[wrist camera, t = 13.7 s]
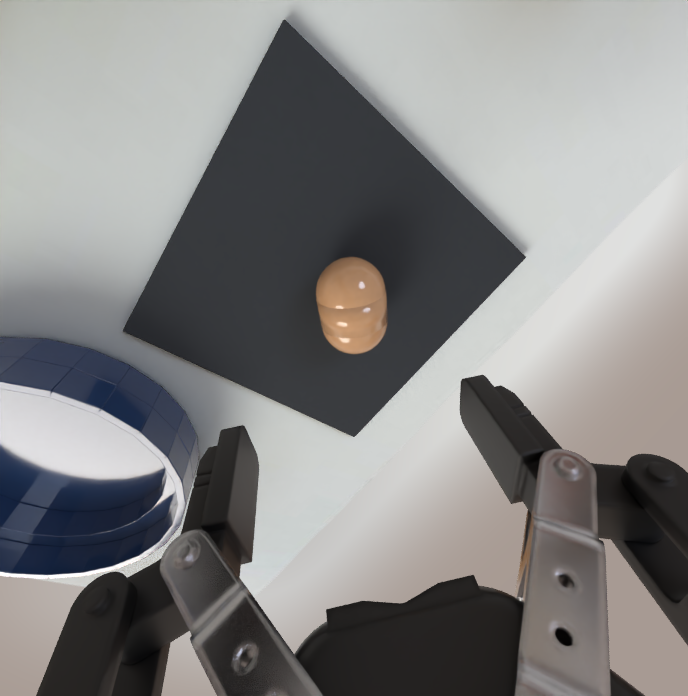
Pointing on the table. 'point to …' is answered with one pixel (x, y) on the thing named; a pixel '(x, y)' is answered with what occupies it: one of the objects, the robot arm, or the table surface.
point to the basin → (86, 461)
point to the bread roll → (352, 305)
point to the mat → (316, 246)
